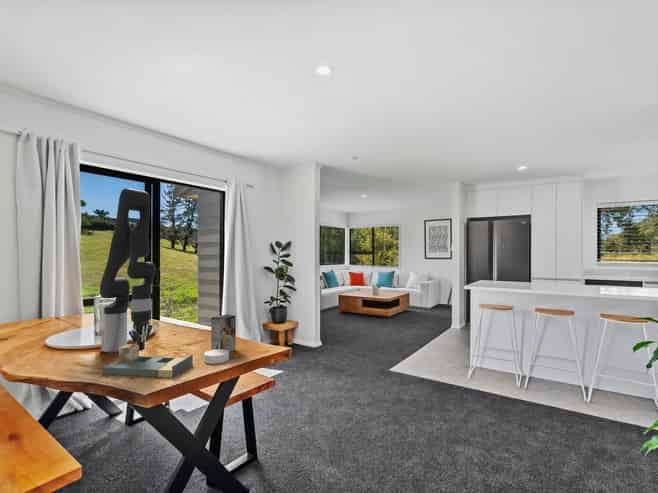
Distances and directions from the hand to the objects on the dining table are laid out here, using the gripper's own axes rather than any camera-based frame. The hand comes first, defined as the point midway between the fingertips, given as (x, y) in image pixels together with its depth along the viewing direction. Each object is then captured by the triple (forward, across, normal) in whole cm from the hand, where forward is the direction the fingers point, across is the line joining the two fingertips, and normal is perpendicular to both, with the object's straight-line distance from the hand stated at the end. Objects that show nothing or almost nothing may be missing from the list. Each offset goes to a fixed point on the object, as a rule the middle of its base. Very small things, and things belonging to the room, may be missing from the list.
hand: (140, 350), depth 147 cm
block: (+1, +7, 0) cm, 7 cm away
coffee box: (+4, -15, +30) cm, 34 cm away
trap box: (+4, +11, +11) cm, 16 cm away
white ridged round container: (+4, -3, +32) cm, 32 cm away
